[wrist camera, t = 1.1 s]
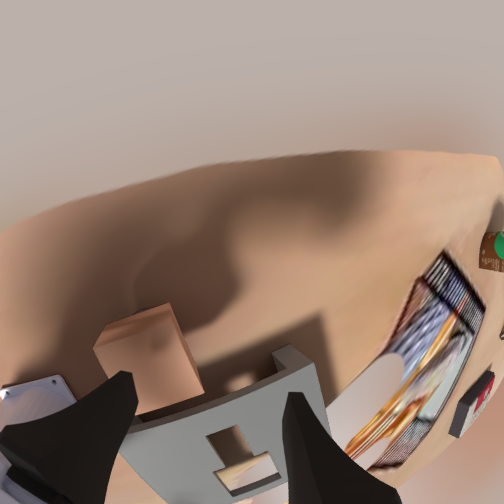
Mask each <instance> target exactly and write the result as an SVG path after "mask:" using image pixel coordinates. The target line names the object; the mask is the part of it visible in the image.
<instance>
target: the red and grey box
mask: <svg viewBox="0 0 504 504" xmlns="http://www.w3.org/2000/svg"><path fill="white" fill-rule="evenodd" d="M494 378H495V375H494V372H491V371H488V370H487V371H486V372H485V373H484V374H483V375H482V377H481V378H480V379H479V380H478V381H477V382H476V383H475V385H474V386H473V387H472V388H471V390H470V391H468V392H467V393H466V394H465V395H464V396H463V397H462V398H461V399H460V400H459V402H458V404H457V408H456V411H455V415H454V418H453V421H452V424H451V427H450V430H449V433H448V434H450V435H452V436H454V437H456V438H459V437H460V436H462V434H463V433H464V432H465V431H466V430H467V428H468V426H469V427H470V426H471V424H472V423H473V422H474V421H475V419H476V418H477V417H478V415H479V414H480V413H481V411H482V410H483V409H484V407H485V406H486V404H487V401H488V398H489V395H490V391H491V389H492V385H493V382H494Z"/></svg>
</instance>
